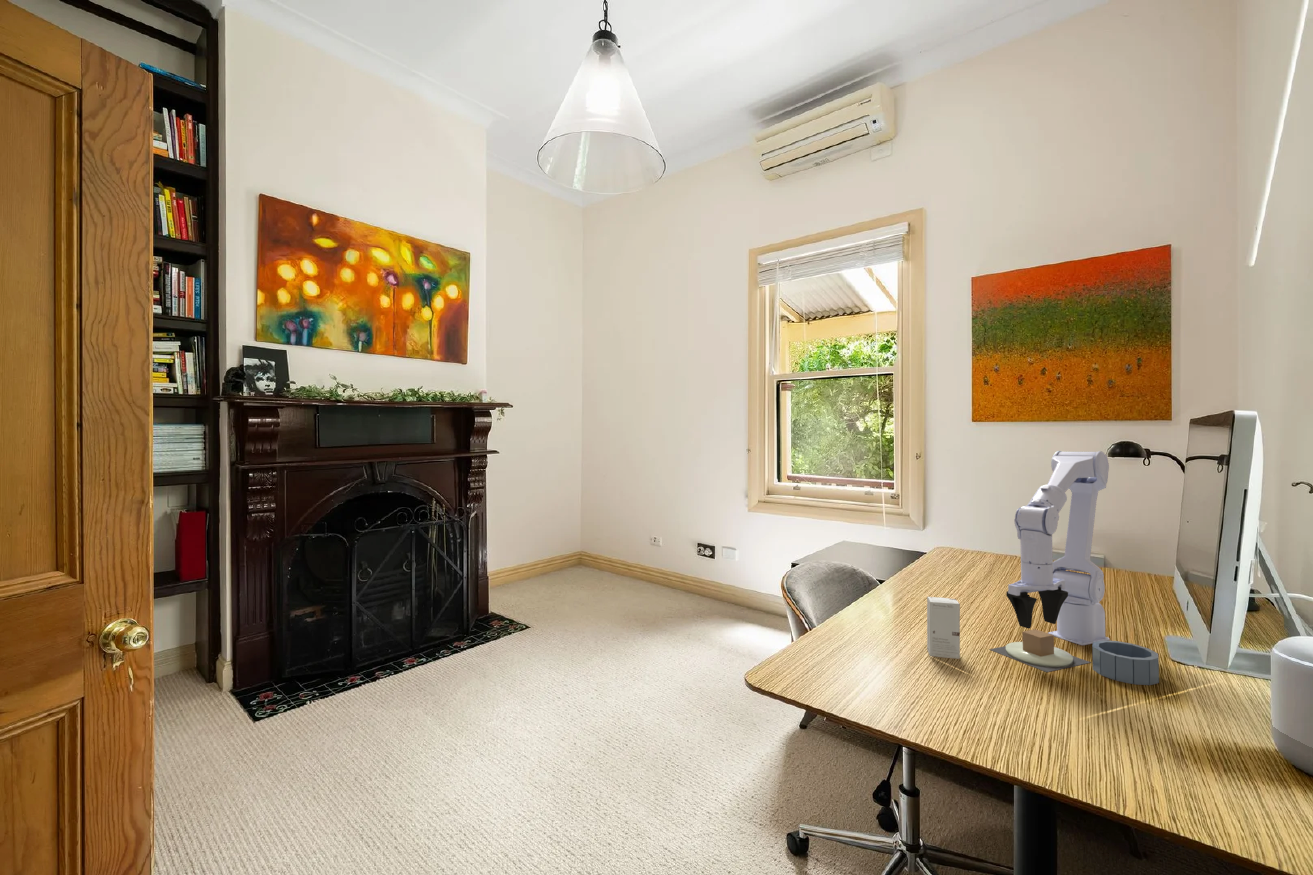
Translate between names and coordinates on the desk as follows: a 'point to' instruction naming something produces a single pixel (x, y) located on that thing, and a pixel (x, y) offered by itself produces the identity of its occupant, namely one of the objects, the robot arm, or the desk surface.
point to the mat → (1044, 668)
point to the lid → (1039, 650)
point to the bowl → (1125, 662)
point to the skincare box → (943, 627)
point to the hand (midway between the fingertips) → (1037, 624)
